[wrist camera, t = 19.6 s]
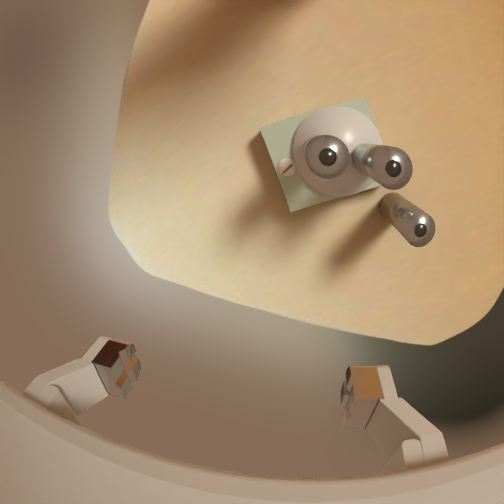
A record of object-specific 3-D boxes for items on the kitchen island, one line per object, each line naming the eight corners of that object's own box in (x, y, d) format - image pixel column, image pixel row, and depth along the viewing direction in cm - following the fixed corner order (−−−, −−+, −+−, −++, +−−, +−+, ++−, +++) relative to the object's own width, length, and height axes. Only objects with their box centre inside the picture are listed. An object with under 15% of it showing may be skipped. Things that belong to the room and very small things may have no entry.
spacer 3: (377, 196, 42) (402, 218, 31) (401, 189, 41) (433, 209, 30) (383, 222, 43) (407, 251, 32) (406, 215, 42) (437, 241, 31)
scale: (262, 128, 41) (259, 128, 37) (361, 99, 36) (367, 96, 33) (290, 207, 45) (290, 213, 42) (386, 179, 41) (393, 183, 37)
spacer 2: (347, 147, 37) (368, 152, 26) (376, 139, 35) (406, 142, 24) (356, 177, 38) (379, 194, 27) (384, 169, 37) (416, 184, 26)
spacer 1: (298, 140, 37) (299, 142, 26) (328, 131, 36) (341, 129, 25) (308, 170, 39) (313, 184, 28) (338, 161, 38) (355, 172, 27)
